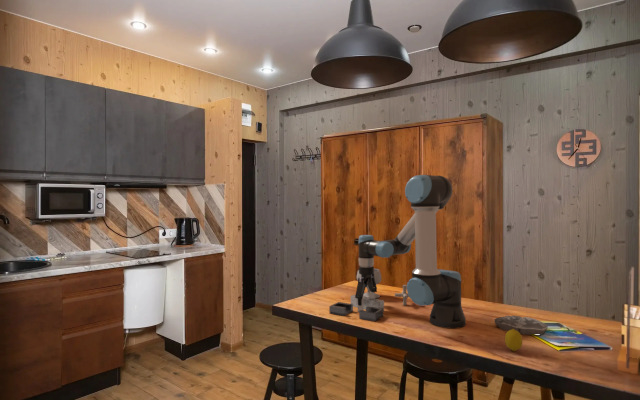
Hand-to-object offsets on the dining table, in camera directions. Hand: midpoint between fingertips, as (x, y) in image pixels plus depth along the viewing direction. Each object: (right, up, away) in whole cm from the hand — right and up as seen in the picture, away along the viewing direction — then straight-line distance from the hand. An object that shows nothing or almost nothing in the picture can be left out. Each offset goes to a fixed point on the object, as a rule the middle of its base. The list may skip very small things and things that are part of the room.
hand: (366, 308), depth 191 cm
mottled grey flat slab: (+61, 0, -32) cm, 68 cm away
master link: (0, 0, 0) cm, 0 cm away
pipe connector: (+20, 0, +6) cm, 21 cm away
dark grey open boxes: (-6, 0, -10) cm, 12 cm away
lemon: (+46, 0, -55) cm, 72 cm away
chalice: (+4, 0, +23) cm, 24 cm away
